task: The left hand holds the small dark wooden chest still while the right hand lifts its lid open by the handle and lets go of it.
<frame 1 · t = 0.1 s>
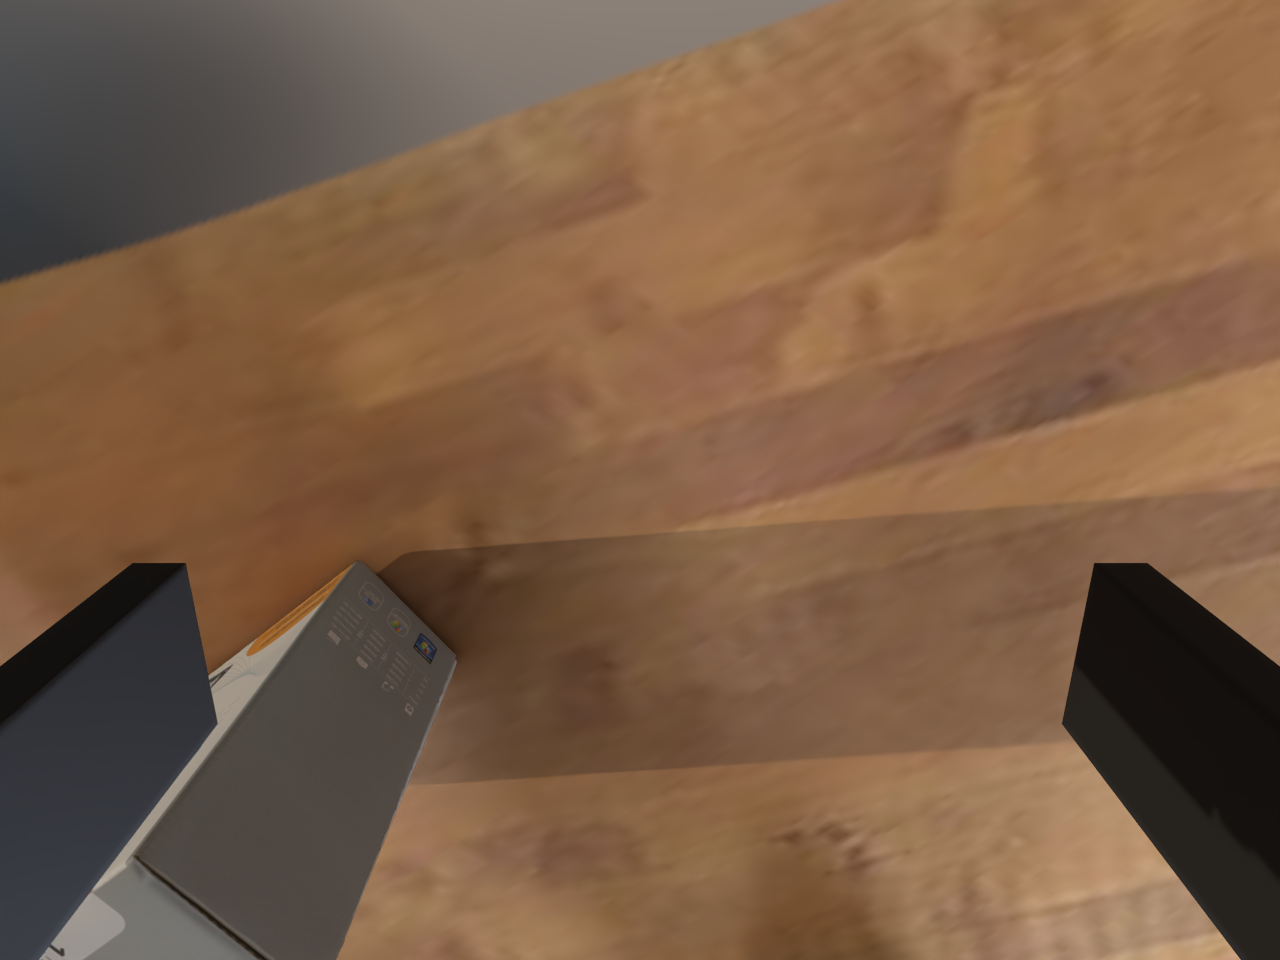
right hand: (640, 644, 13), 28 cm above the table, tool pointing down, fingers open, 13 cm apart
hard drive box: (307, 683, 45), on the table
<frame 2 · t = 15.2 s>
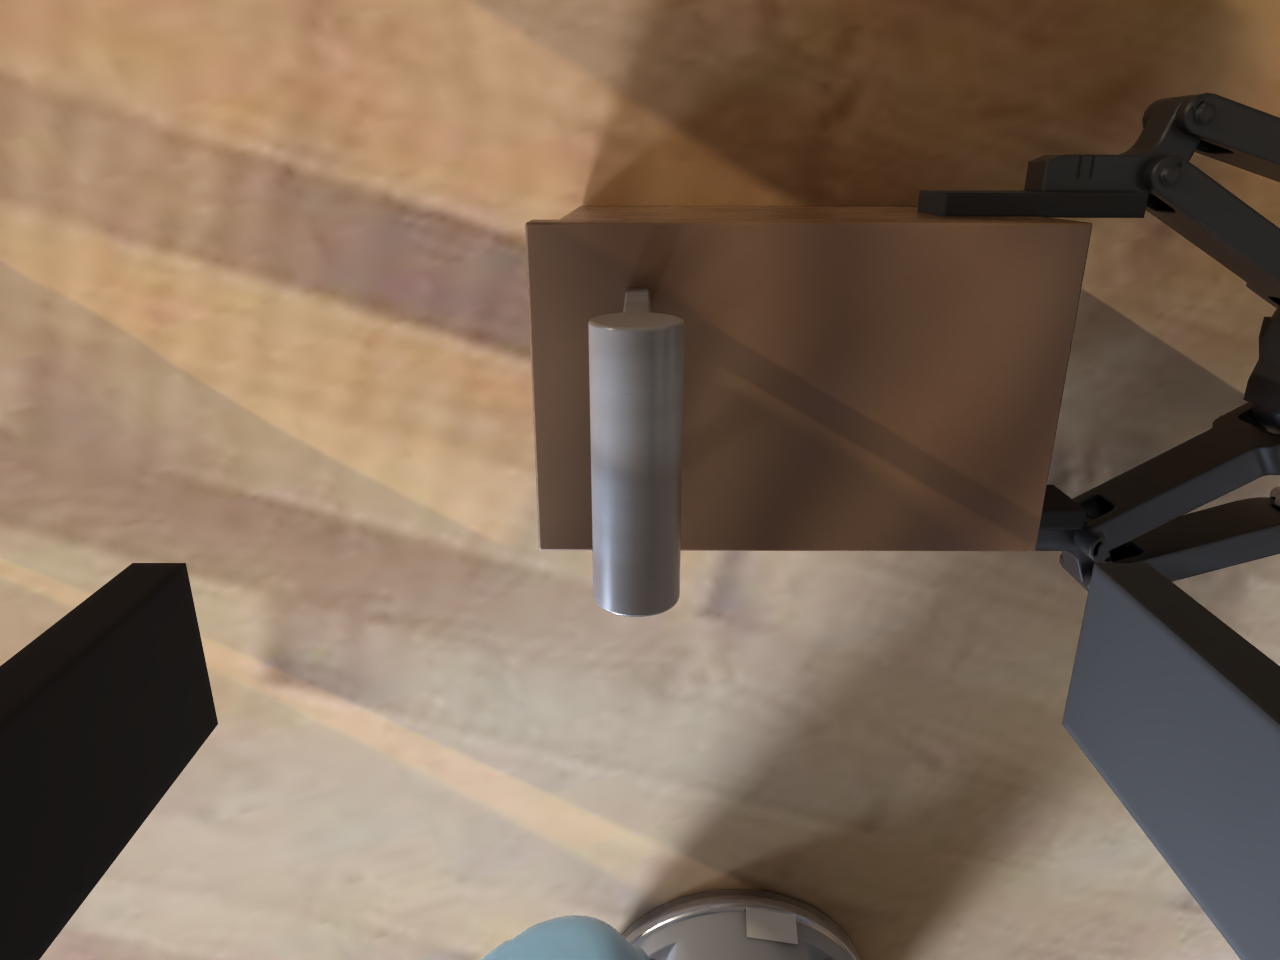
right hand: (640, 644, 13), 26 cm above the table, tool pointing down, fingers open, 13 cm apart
left hand: (912, 364, 31), fingers closed on chest, 10 cm apart
chest: (762, 332, 37), on the table, touching left hand
lid: (816, 426, 23), point 14 cm above the table, hinge at 0.0°
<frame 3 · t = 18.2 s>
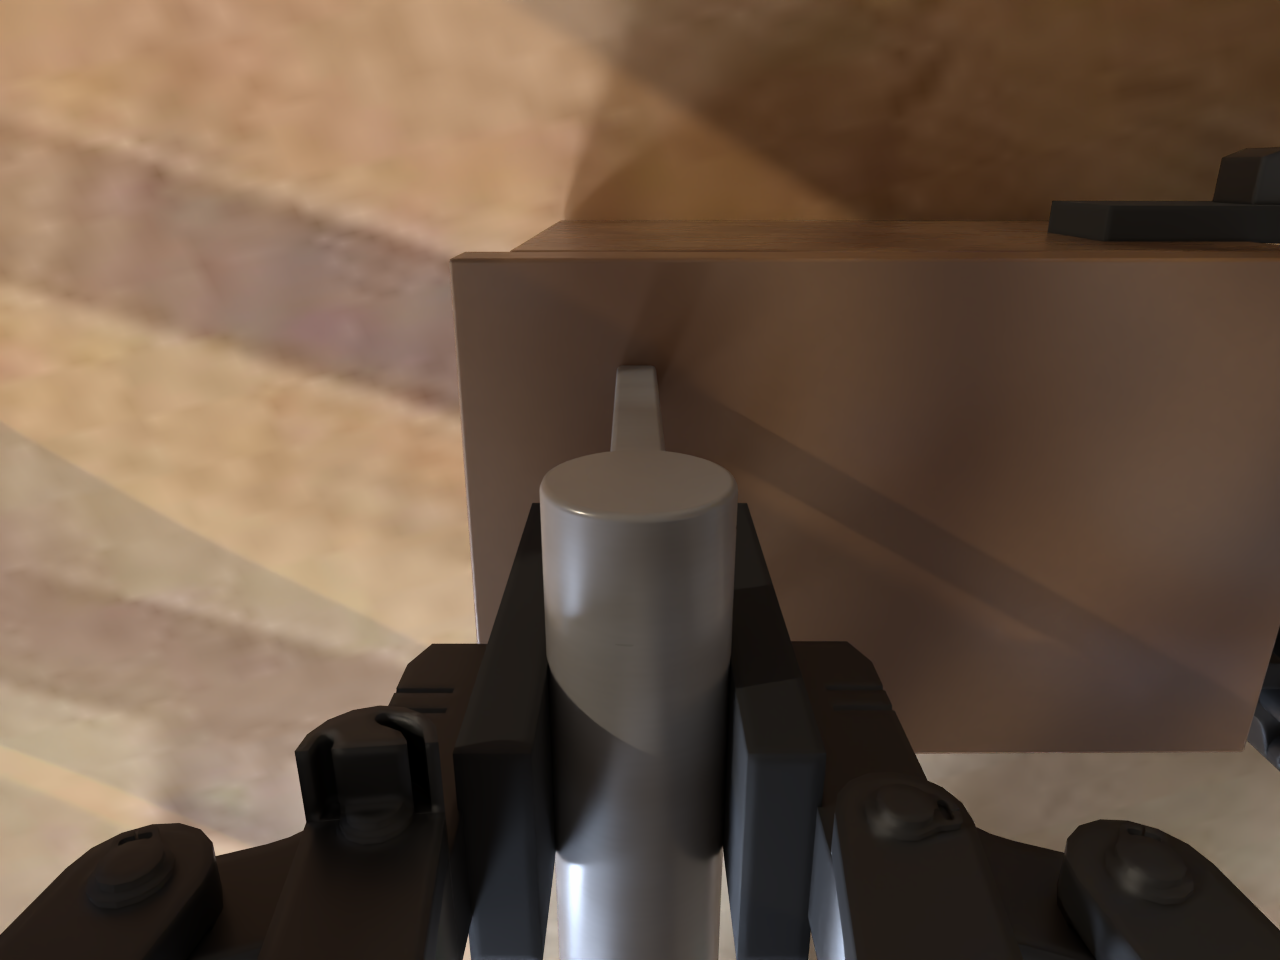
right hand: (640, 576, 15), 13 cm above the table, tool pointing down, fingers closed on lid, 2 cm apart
chest: (807, 390, 27), on the table, touching left hand
lid: (945, 611, 14), point 14 cm above the table, hinge at 0.9°, touching right hand
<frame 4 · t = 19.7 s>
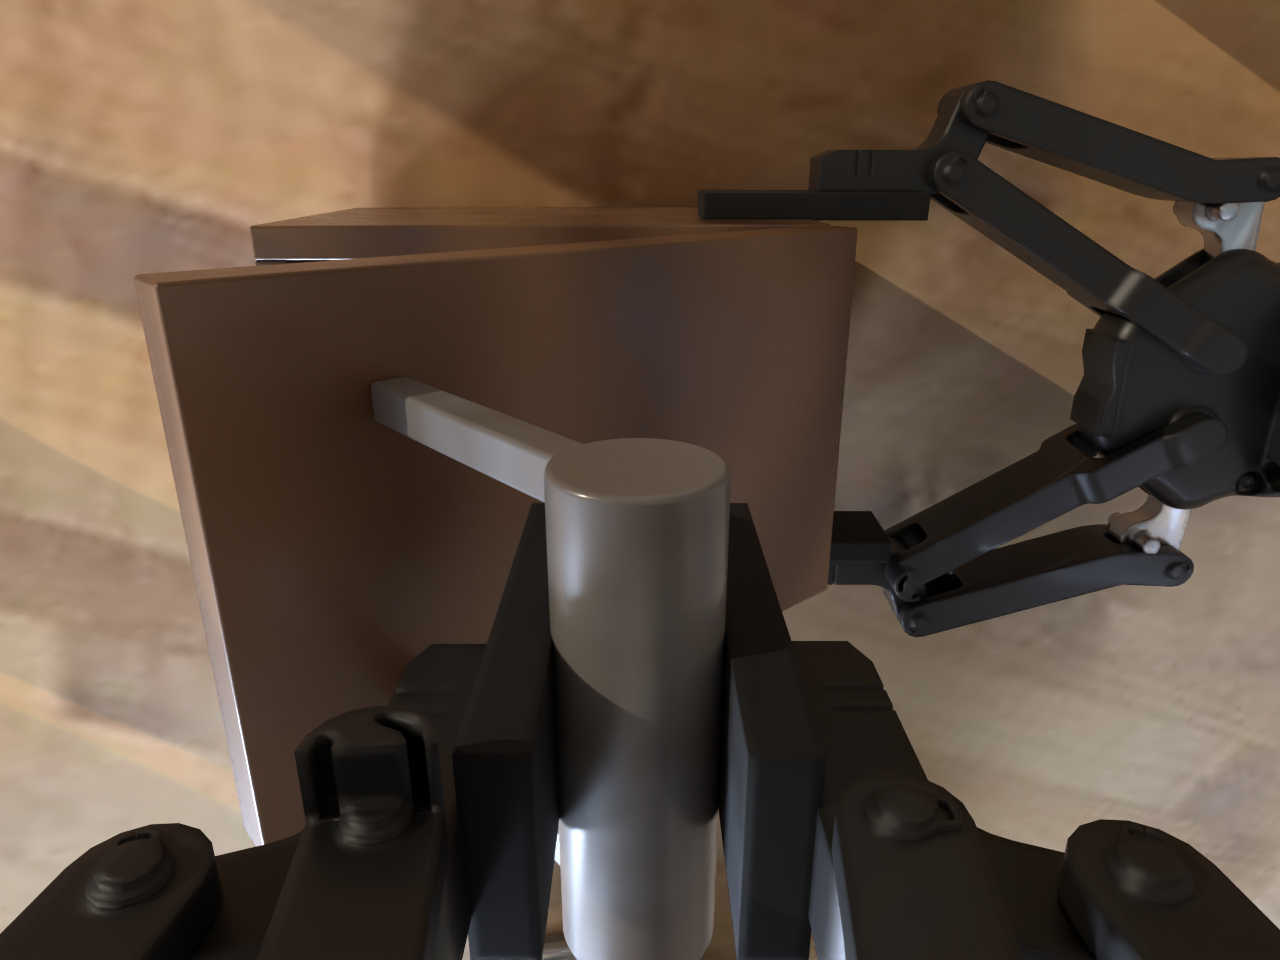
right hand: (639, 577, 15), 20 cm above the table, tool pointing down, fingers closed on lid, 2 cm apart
left hand: (696, 381, 28), fingers closed on chest, 10 cm apart
chest: (568, 344, 34), on the table, touching left hand
lid: (717, 536, 16), point 19 cm above the table, hinge at 39.8°, touching right hand
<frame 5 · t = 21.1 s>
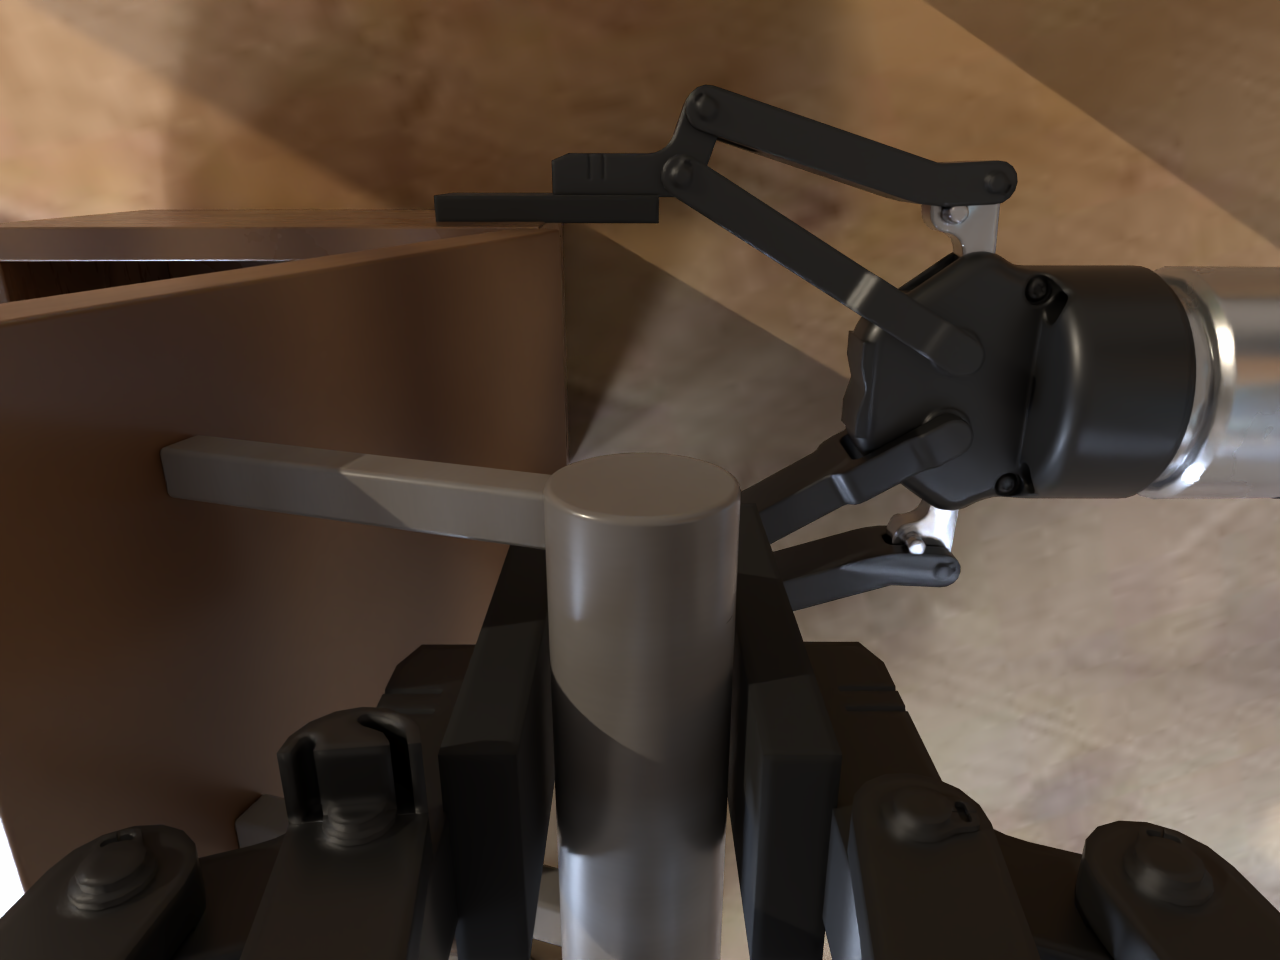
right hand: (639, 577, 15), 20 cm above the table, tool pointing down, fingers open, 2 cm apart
left hand: (457, 383, 28), fingers closed on chest, 10 cm apart
chest: (370, 346, 34), on the table, touching left hand
lid: (552, 550, 16), point 19 cm above the table, hinge at 70.7°
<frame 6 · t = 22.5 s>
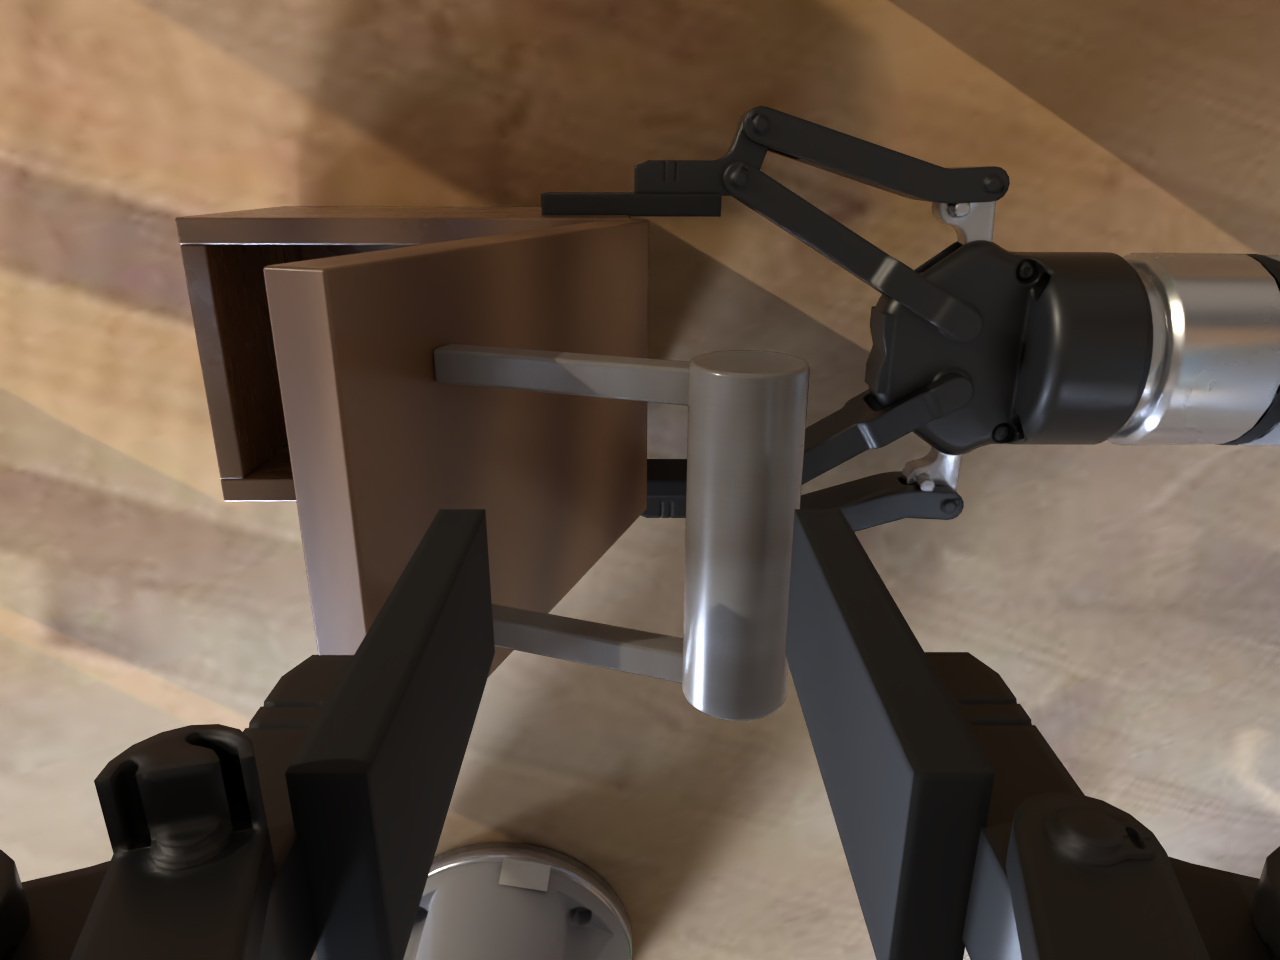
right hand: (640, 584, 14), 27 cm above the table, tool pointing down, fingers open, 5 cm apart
left hand: (550, 348, 34), fingers closed on chest, 10 cm apart
chest: (464, 322, 40), on the table, touching left hand
lid: (658, 447, 22), point 19 cm above the table, hinge at 69.5°
when the left hand's fingers open (6 cm above the table, at t = 25.3 s): chest stays where it is, on the table.
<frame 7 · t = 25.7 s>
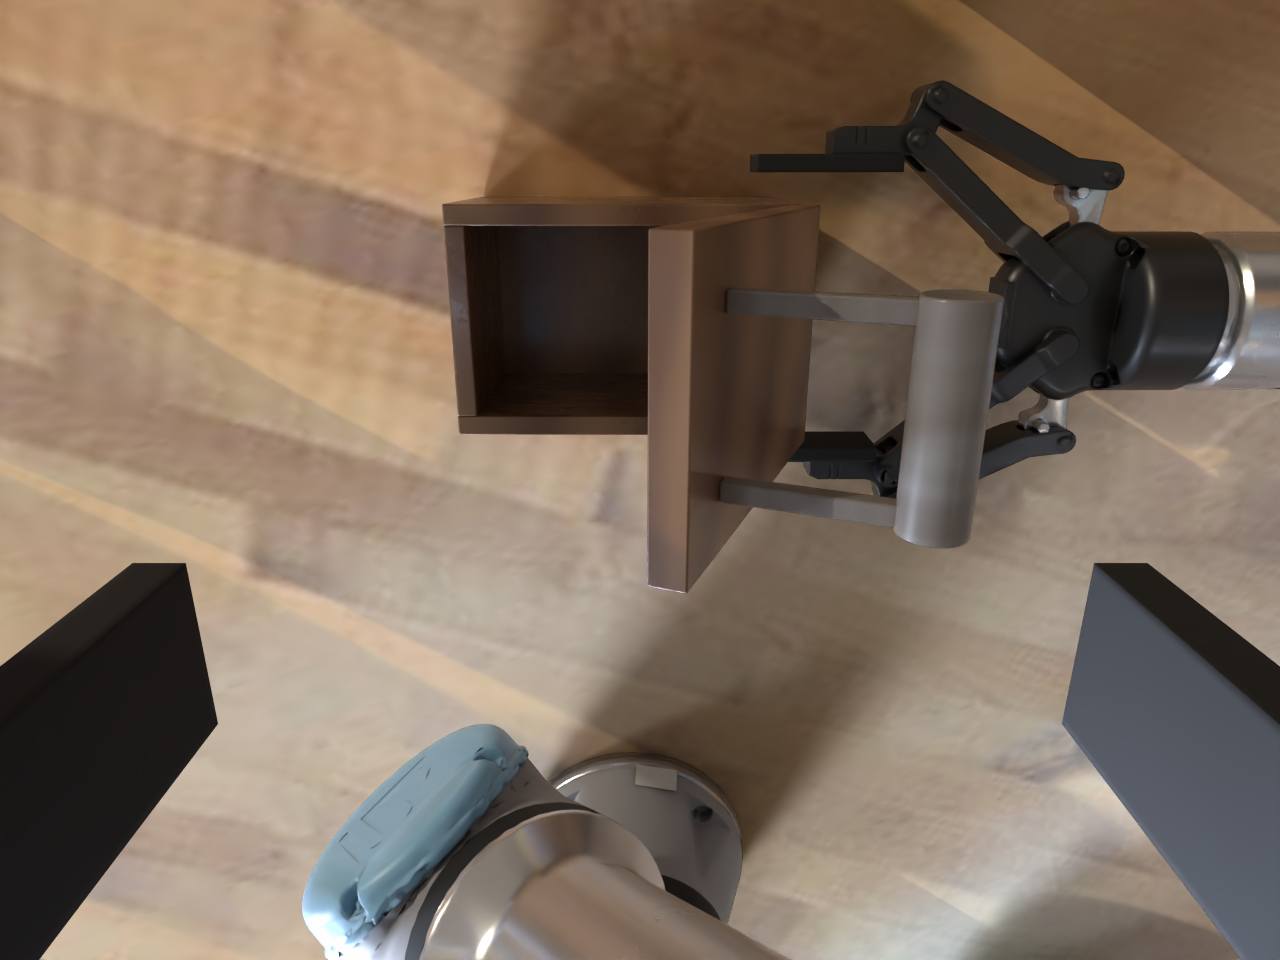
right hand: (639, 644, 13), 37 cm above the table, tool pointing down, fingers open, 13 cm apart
left hand: (746, 312, 41), fingers open, 13 cm apart
chest: (626, 294, 47), on the table
lid: (853, 373, 29), point 19 cm above the table, hinge at 67.8°
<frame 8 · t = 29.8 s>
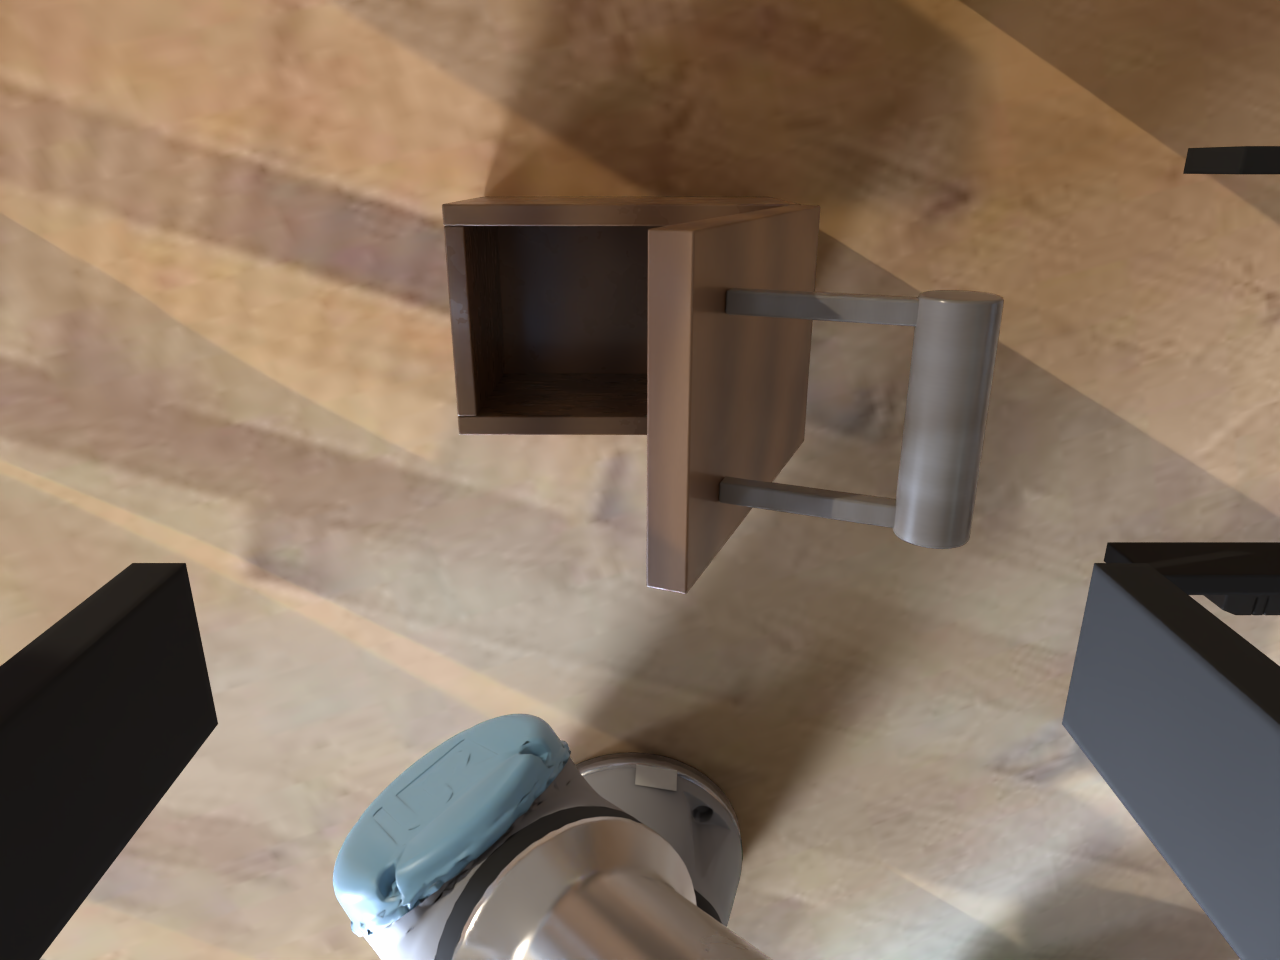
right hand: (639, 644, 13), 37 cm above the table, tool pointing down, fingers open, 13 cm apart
chest: (626, 294, 47), on the table
lid: (853, 373, 29), point 19 cm above the table, hinge at 67.8°
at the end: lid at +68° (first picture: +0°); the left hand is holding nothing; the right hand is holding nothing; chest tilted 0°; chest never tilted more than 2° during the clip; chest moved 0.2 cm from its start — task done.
